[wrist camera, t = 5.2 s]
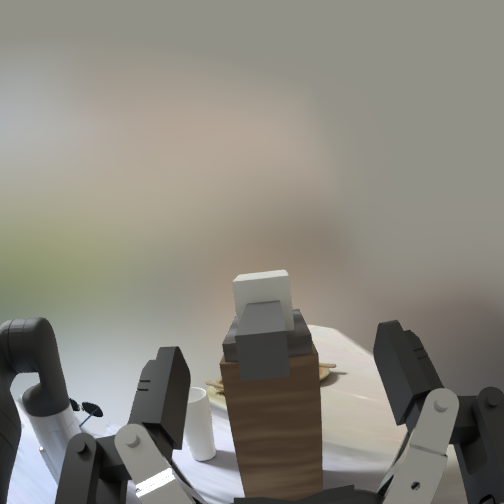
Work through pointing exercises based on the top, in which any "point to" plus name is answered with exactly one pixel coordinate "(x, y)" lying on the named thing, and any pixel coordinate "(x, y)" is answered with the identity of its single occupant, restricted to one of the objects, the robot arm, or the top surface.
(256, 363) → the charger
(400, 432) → the top surface
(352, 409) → the top surface
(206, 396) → the drinking glass
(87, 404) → the sunglasses
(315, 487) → the wood-grain topped box
